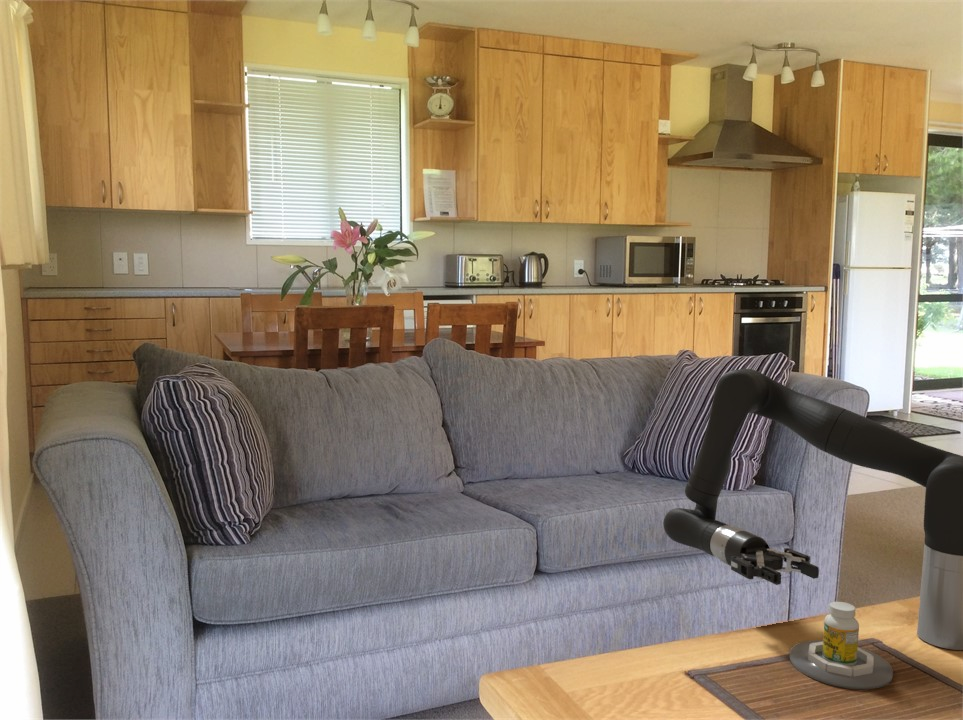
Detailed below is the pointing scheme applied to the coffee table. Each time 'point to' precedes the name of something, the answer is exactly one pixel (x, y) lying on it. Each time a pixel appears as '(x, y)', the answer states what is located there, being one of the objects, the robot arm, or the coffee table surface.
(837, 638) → the supplement bottle
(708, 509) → the robot arm
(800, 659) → the ringed coaster
